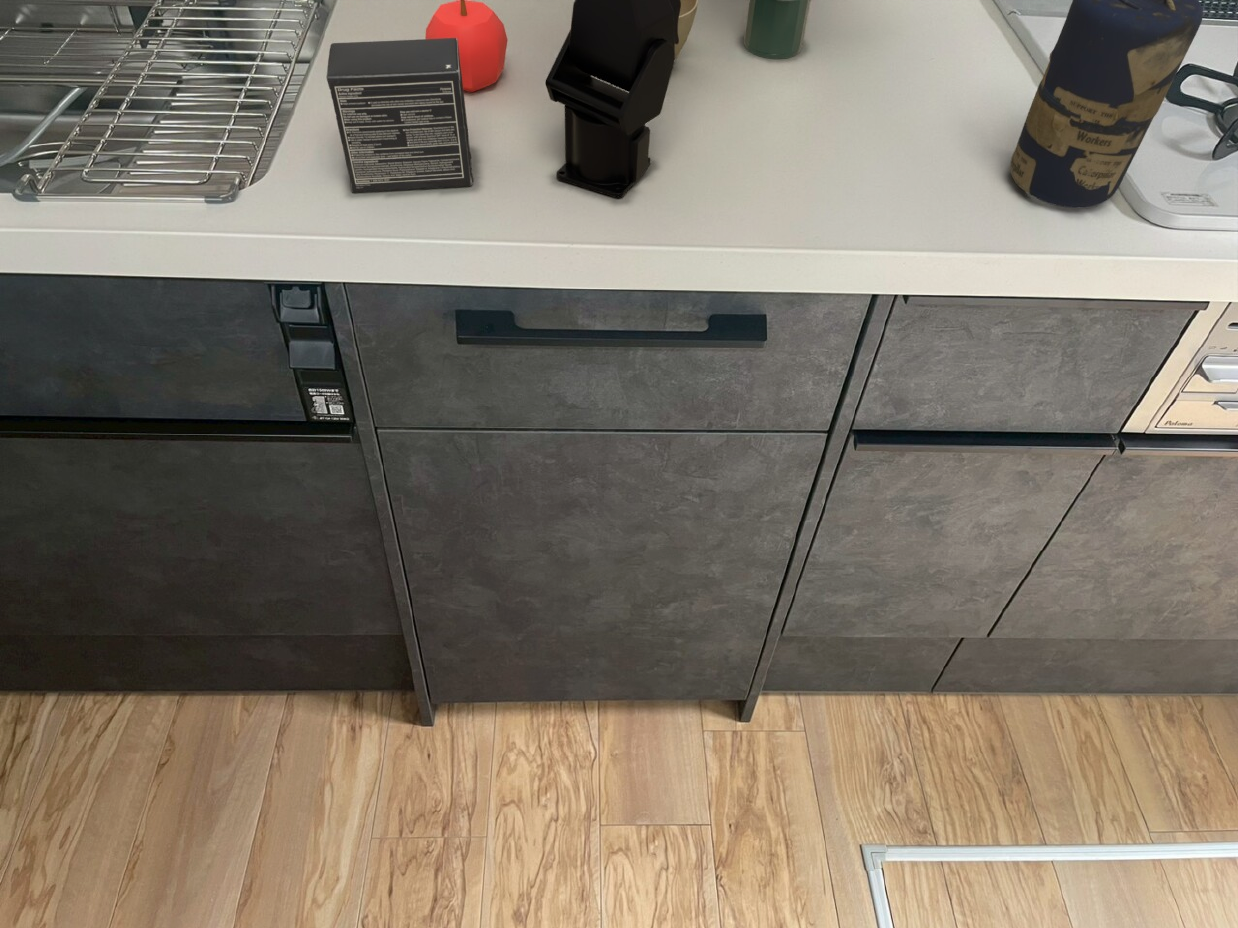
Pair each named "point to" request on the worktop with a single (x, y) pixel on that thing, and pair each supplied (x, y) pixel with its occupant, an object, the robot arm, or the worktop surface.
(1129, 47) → the canister
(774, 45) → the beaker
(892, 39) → the worktop surface
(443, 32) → the apple
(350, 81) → the small box
